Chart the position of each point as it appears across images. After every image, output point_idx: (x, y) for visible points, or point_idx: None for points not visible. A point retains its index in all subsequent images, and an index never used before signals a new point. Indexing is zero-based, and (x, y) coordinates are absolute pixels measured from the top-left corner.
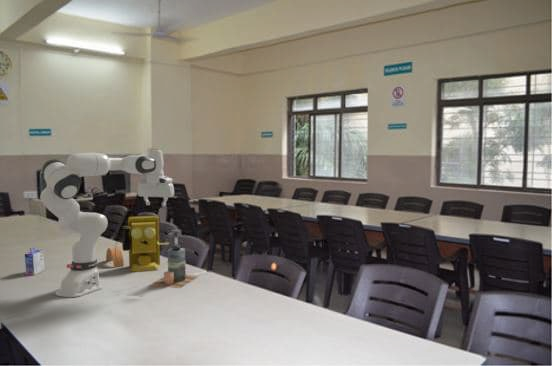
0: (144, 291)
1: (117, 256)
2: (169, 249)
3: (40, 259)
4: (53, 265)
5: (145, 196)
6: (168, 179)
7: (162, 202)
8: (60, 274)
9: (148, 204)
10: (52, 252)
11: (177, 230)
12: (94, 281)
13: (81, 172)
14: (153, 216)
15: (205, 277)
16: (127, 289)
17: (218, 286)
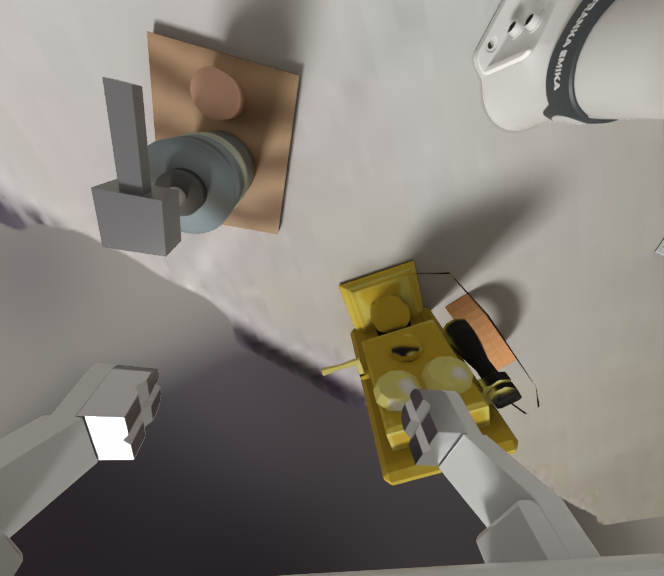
0: (299, 22)
1: (475, 323)
2: (226, 194)
3: None
4: (628, 296)
5: (571, 559)
6: None
7: (103, 414)
8: (612, 219)
9: (419, 392)
10: (625, 385)
11: (118, 225)
12: (515, 40)
13: None
14: (407, 476)
15: None
16: (374, 51)
17: (34, 114)
